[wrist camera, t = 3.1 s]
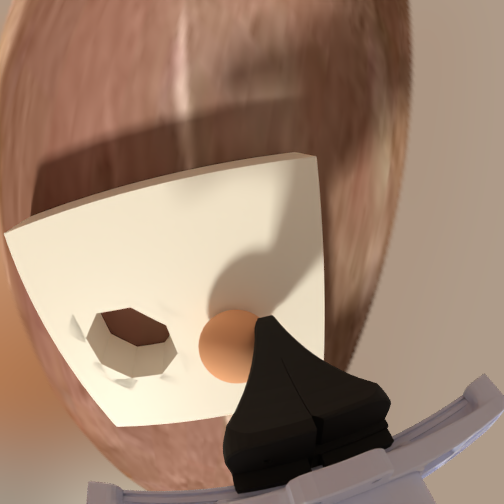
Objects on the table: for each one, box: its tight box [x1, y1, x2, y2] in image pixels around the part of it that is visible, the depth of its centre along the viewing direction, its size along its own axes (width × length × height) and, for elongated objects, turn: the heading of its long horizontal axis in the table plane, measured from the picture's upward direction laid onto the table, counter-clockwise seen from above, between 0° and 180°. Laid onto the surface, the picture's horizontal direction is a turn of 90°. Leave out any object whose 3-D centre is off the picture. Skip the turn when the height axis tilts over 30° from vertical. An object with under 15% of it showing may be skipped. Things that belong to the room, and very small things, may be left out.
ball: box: [198, 310, 260, 383], centre depth 13 cm, size 4×4×4 cm
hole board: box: [4, 152, 325, 427], centre depth 16 cm, size 16×16×3 cm
